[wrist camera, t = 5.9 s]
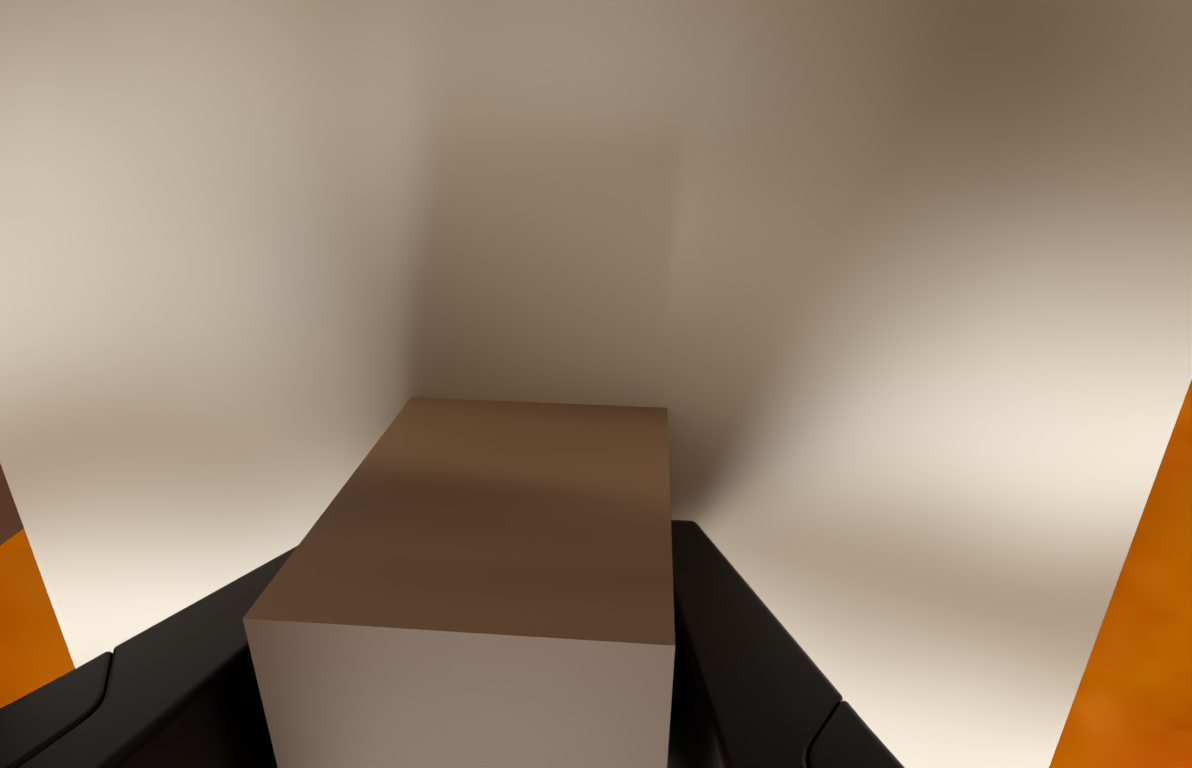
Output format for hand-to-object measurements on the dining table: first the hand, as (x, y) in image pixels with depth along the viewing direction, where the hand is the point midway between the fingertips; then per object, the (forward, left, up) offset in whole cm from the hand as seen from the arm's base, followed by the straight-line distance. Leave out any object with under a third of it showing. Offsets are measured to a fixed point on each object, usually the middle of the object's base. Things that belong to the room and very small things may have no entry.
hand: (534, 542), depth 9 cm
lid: (0, 0, -3) cm, 3 cm away
